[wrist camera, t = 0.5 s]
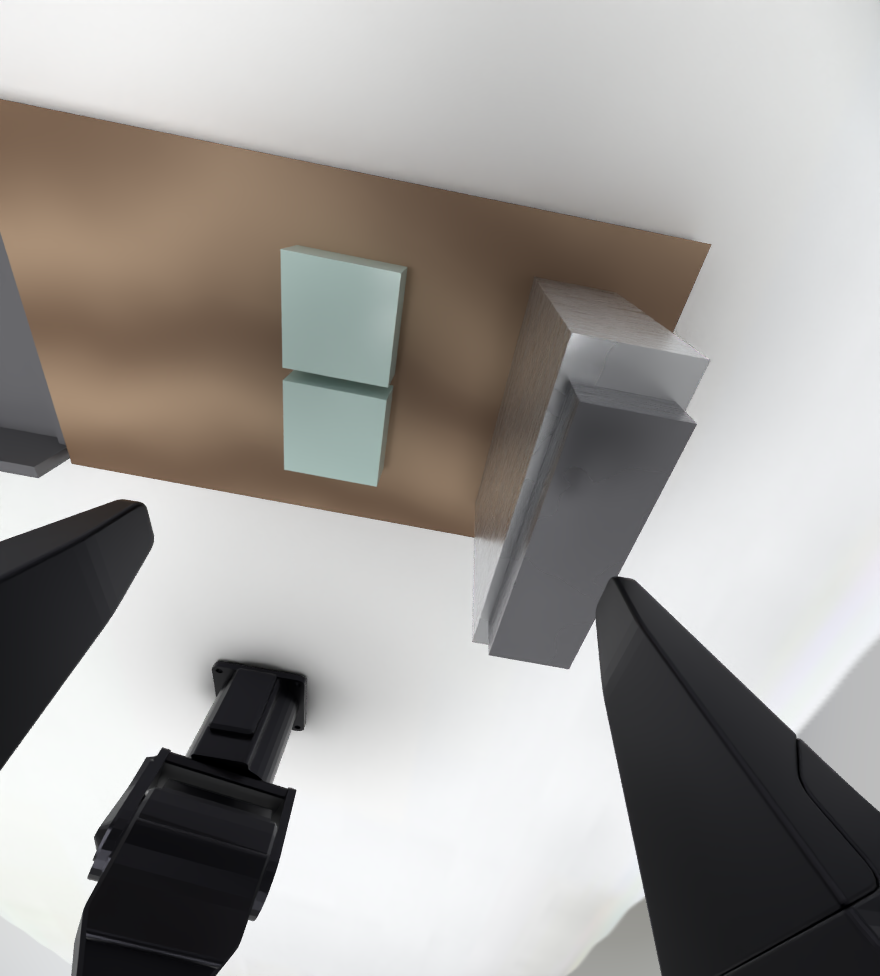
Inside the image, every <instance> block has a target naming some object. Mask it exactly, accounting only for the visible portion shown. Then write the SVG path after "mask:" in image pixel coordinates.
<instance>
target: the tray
mask: <svg viewBox="0 0 880 976" xmlns="http://www.w3.org/2000/svg"><path fill="white" fill-rule="evenodd" d="M69 458H70V456H69V453H68V450H67V446H66V443H65V440H64V437H63V433H62V430H61V427H60V424H59V421H58V417H57V414H56V411H55V408H54V404H53V401H52V398H51V395H50V391H49V388H48V385H47V382H46V378H45V375H44V372H43V369H42V365H41V362H40V359H39V356H38V353H37V349H36V346H35V343H34V340H33V336H32V333H31V330H30V327H29V323H28V320H27V317H26V314H25V310H24V307H23V304H22V301H21V297H20V294H19V291H18V288H17V285H16V281H15V278H14V275H13V272H12V268H11V265H10V262H9V259H8V255H7V252H6V249H5V246H4V242H3V239H2V236H1V233H0V471H2V472H7V473H13V474H18V475H24V476H29V477H35V478H39V477H41V476H43V475H44V474H46V473H47V472H49V471H50V470H52V469H54V468H55V467H57V466H58V465H60V464H61V463H63V462H65V461H66V460H68V459H69Z"/></svg>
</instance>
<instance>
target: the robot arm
mask: <svg viewBox="0 0 880 976" xmlns="http://www.w3.org/2000/svg"><path fill="white" fill-rule="evenodd" d="M153 543H154V534H153V530H152V526H151V522H150V518H149V514H148V510H147V507H146V506H145V505H144V504H143V503H141V502H137V501H131V500H125V499H120V500H116V501H113V502H110V503H107V504H105V505H102V506H99V507H96V508H93V509H90V510H88V511H85V512H82V513H79V514H76V515H74V516H71V517H68V518H65V519H62V520H60V521H57V522H54V523H51V524H48V525H46V526H43V527H40V528H37V529H34V530H31V531H29V532H26V533H23V534H20V535H17V536H15V537H12V538H9V539H6V540H3V541H1V542H0V770H1V769H2V768H3V766H4V765H5V764H6V762H7V761H8V759H9V758H10V757H11V755H12V754H13V753H14V751H15V750H16V748H17V747H18V746H19V744H20V743H21V742H22V740H23V739H24V737H25V736H26V735H27V733H28V732H29V730H30V729H31V728H32V726H33V725H34V724H35V722H36V721H37V719H38V718H39V717H40V715H41V714H42V713H43V711H44V710H45V708H46V707H47V706H48V704H49V703H50V702H51V700H52V699H53V697H54V696H55V695H56V693H57V692H58V691H59V689H60V688H61V686H62V685H63V684H64V682H65V681H66V680H67V678H68V677H69V675H70V674H71V673H72V671H73V670H74V668H75V667H76V666H77V664H78V663H79V662H80V660H81V659H82V657H83V656H84V655H85V653H86V652H87V651H88V649H89V648H90V646H91V645H92V644H93V642H94V641H95V640H96V638H97V637H98V635H99V634H100V633H101V631H102V630H103V629H104V627H105V626H106V624H107V623H108V621H109V620H110V618H111V617H112V615H113V614H114V612H115V611H116V609H117V607H118V606H119V604H120V602H121V601H122V599H123V597H124V595H125V594H126V592H127V590H128V589H129V587H130V585H131V583H132V582H133V580H134V578H135V576H136V575H137V573H138V571H139V569H140V568H141V566H142V564H143V563H144V561H145V559H146V557H147V556H148V554H149V552H150V550H151V548H152V546H153ZM596 628H597V639H598V649H599V660H600V671H601V681H602V689H603V696H604V701H605V706H606V711H607V716H608V721H609V725H610V730H611V735H612V740H613V745H614V749H615V754H616V759H617V764H618V769H619V773H620V778H621V783H622V788H623V793H624V797H625V802H626V807H627V812H628V817H629V821H630V826H631V831H632V836H633V841H634V845H635V850H636V855H637V860H638V865H639V869H640V874H641V879H642V884H643V889H644V893H645V898H646V903H647V908H648V912H649V917H650V922H651V926H652V932H653V936H654V941H655V946H656V950H657V955H658V961H659V965H660V970H661V975H662V976H880V812H879V811H878V810H877V809H876V808H874V807H873V806H872V805H871V804H870V803H869V802H868V801H867V800H865V799H864V798H863V797H862V796H861V795H860V794H859V793H858V792H857V791H855V790H854V789H853V788H852V787H851V786H850V785H849V784H848V783H847V782H846V781H845V780H844V779H843V778H841V777H840V776H839V775H838V774H837V773H836V772H835V771H834V770H833V769H832V768H831V767H830V766H829V765H827V763H825V762H824V761H823V760H822V759H821V758H820V757H819V756H818V755H817V754H816V753H815V752H814V751H813V750H812V749H811V748H810V747H808V745H807V744H806V743H804V741H802V740H801V739H799V738H797V739H796V734H795V733H794V732H793V731H792V730H791V729H790V728H789V727H788V726H787V725H786V724H785V723H784V722H782V721H781V720H780V719H779V718H778V717H777V716H776V715H775V714H774V713H773V712H772V711H771V710H770V709H769V708H768V707H767V706H766V705H765V704H764V703H763V702H762V701H761V700H760V699H758V698H757V697H756V696H755V695H754V694H753V693H752V692H751V691H750V690H749V689H748V688H747V687H746V686H745V685H744V684H743V683H742V682H741V681H740V680H739V679H738V678H737V677H736V676H734V675H733V674H732V673H731V672H730V671H729V670H728V669H727V668H726V667H725V666H724V665H723V664H722V663H721V662H720V661H719V660H718V659H717V658H716V657H715V656H714V655H713V654H712V653H711V652H709V651H708V650H707V649H706V648H705V647H704V646H703V645H702V644H701V643H700V642H699V641H698V640H697V639H696V638H695V637H694V636H693V635H692V634H691V633H690V632H689V631H688V630H687V629H685V628H684V627H683V626H682V625H681V624H680V623H679V622H678V621H677V620H676V619H675V618H674V617H673V616H672V615H671V614H670V613H669V612H668V611H667V610H666V609H665V608H664V607H663V606H661V605H660V604H659V603H658V602H657V601H656V600H655V599H654V598H653V597H652V596H651V595H650V594H649V593H648V592H647V591H646V590H645V589H644V588H643V587H642V586H641V585H640V584H639V583H638V582H636V581H635V580H633V579H630V578H624V577H618V576H614V577H611V578H610V579H609V581H608V583H607V585H606V587H605V589H604V591H603V593H602V596H601V598H600V600H599V602H598V604H597V608H596ZM212 673H213V679H214V685H215V692H216V699H215V701H214V703H213V705H212V707H211V709H210V711H209V712H208V714H207V716H206V718H205V720H204V722H203V724H202V726H201V728H200V729H199V731H198V733H197V735H196V737H195V739H194V741H193V743H192V745H191V746H190V748H189V750H188V752H187V754H186V756H182V755H179V754H176V753H173V752H171V750H169V749H166V748H163V747H162V749H161V750H160V752H159V754H158V755H157V756H154V757H146V759H145V761H144V762H143V764H142V766H141V767H140V769H139V771H138V772H137V774H136V776H135V777H134V779H133V781H132V782H131V784H130V785H129V787H128V788H127V790H126V791H125V793H124V794H123V795H122V797H121V798H120V800H119V801H118V802H117V804H116V805H115V806H114V808H113V809H112V811H111V812H110V813H109V815H108V816H107V817H106V819H105V820H104V822H103V823H102V824H101V826H100V827H99V829H98V831H97V832H96V834H95V836H94V840H95V845H96V850H97V851H96V853H95V856H94V858H93V861H94V863H93V866H92V868H91V870H90V872H89V875H88V879H89V880H93V881H97V882H98V883H97V885H96V886H95V888H94V890H93V892H92V894H91V896H90V897H89V899H88V901H87V903H86V905H85V907H84V910H83V913H82V917H81V920H80V924H79V927H78V931H77V934H76V938H75V943H74V952H73V963H72V974H71V975H72V976H216V975H217V973H218V972H219V971H220V970H221V968H222V967H223V966H224V965H225V964H226V962H227V961H228V960H229V959H230V957H231V956H232V955H233V954H234V952H235V951H236V950H237V948H238V947H239V944H240V942H241V939H242V936H243V933H244V930H245V928H246V925H247V922H248V920H251V921H255V919H256V918H257V917H258V915H259V913H260V911H261V909H262V907H263V905H264V902H265V900H266V897H267V895H268V892H269V890H270V887H271V884H272V882H273V879H274V876H275V873H276V869H277V866H278V863H279V859H280V855H281V852H282V847H283V843H284V839H285V835H286V831H287V827H288V823H289V819H290V815H291V811H292V806H293V802H294V798H295V794H296V789H293V788H289V787H288V789H287V788H284V787H281V786H277V785H274V784H272V783H273V780H274V777H275V775H276V772H277V769H278V766H279V763H280V761H281V758H282V755H283V752H284V749H285V747H286V744H287V741H288V738H289V735H290V733H291V730H295V731H302V730H304V727H305V724H306V678H305V677H303V676H301V675H296V674H290V673H284V672H279V671H273V670H267V669H261V668H256V667H250V666H244V665H238V664H233V663H227V662H220V661H218V662H216V663H215V664H214V666H213V668H212Z"/></svg>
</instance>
